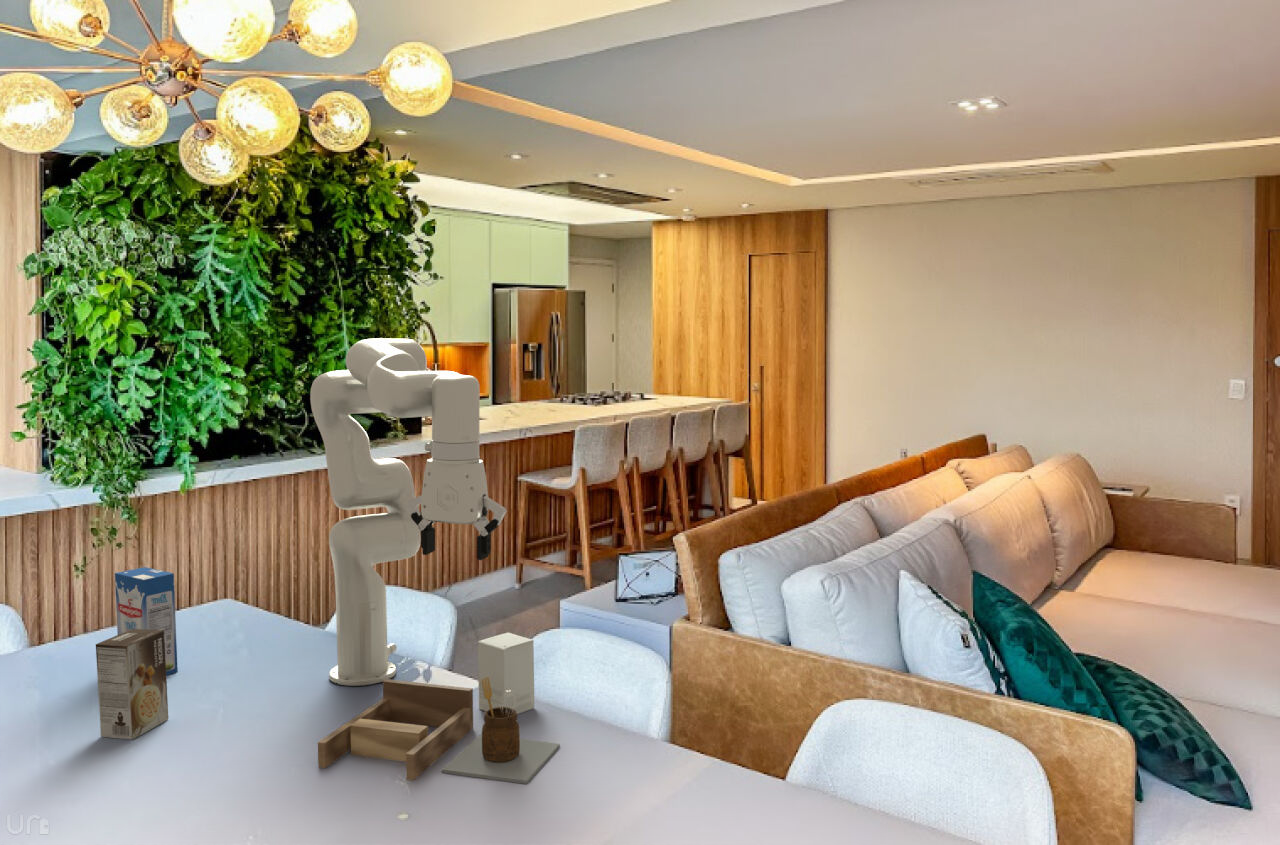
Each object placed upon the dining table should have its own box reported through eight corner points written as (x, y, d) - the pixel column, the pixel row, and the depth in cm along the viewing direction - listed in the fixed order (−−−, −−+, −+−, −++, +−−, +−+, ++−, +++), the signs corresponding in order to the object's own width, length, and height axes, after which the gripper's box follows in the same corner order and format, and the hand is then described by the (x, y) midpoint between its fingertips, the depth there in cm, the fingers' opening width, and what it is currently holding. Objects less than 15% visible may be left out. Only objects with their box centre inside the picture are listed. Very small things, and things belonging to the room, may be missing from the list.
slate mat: (480, 737, 165) (480, 734, 165) (559, 746, 161) (559, 743, 161) (441, 772, 152) (441, 769, 152) (526, 783, 148) (526, 780, 148)
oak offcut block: (361, 748, 161) (360, 718, 161) (428, 756, 158) (427, 726, 158) (351, 755, 158) (350, 725, 158) (419, 764, 155) (418, 733, 155)
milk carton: (177, 672, 197) (173, 573, 195) (148, 681, 192) (143, 579, 190) (148, 663, 202) (144, 566, 200) (119, 672, 197) (114, 573, 195)
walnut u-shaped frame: (387, 718, 173) (386, 679, 173) (473, 728, 169) (472, 688, 168) (318, 767, 154) (317, 723, 153) (413, 780, 149) (412, 735, 149)
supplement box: (535, 708, 178) (535, 639, 177) (503, 719, 173) (502, 649, 172) (509, 698, 183) (508, 631, 182) (477, 708, 178) (476, 640, 177)
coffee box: (137, 717, 174) (133, 627, 172) (169, 719, 172) (166, 629, 171) (98, 737, 165) (94, 643, 163) (132, 740, 164) (128, 645, 162)
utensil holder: (503, 766, 153) (502, 691, 152) (472, 757, 156) (471, 683, 155) (527, 753, 158) (527, 680, 157) (497, 744, 161) (497, 672, 160)
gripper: (395, 451, 159) (396, 556, 160) (495, 458, 154) (495, 566, 156) (418, 445, 166) (418, 546, 168) (514, 451, 161) (513, 555, 163)
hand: (455, 555), depth 162 cm, fingers open, 9 cm apart
